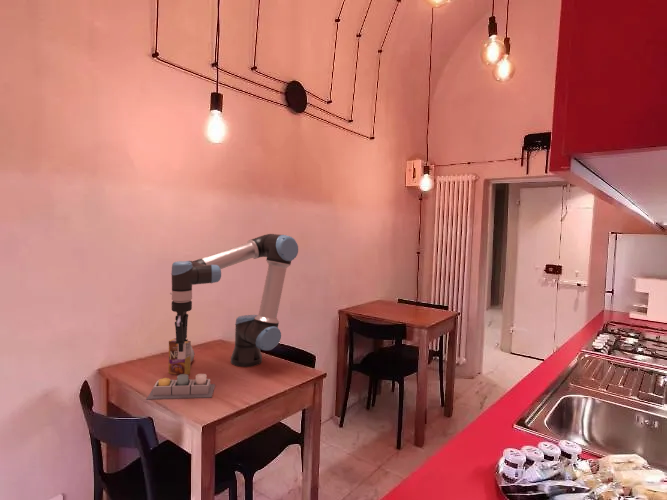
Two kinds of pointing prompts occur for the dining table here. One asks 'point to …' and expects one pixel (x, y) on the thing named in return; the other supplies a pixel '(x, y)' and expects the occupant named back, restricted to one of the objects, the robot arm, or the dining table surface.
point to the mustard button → (164, 382)
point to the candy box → (177, 364)
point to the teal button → (182, 380)
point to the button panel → (181, 390)
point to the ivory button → (200, 379)
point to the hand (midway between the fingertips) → (181, 358)
